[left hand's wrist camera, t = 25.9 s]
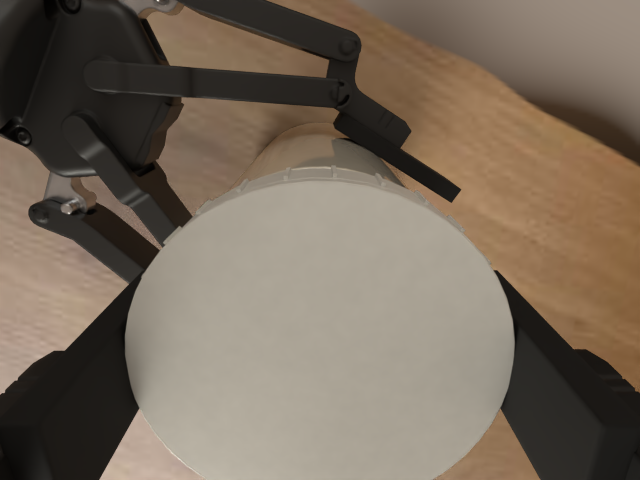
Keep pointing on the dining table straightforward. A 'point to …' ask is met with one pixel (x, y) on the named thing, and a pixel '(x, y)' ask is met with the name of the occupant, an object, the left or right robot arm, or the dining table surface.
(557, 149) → the dining table surface
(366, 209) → the lid
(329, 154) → the jar
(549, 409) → the left robot arm
